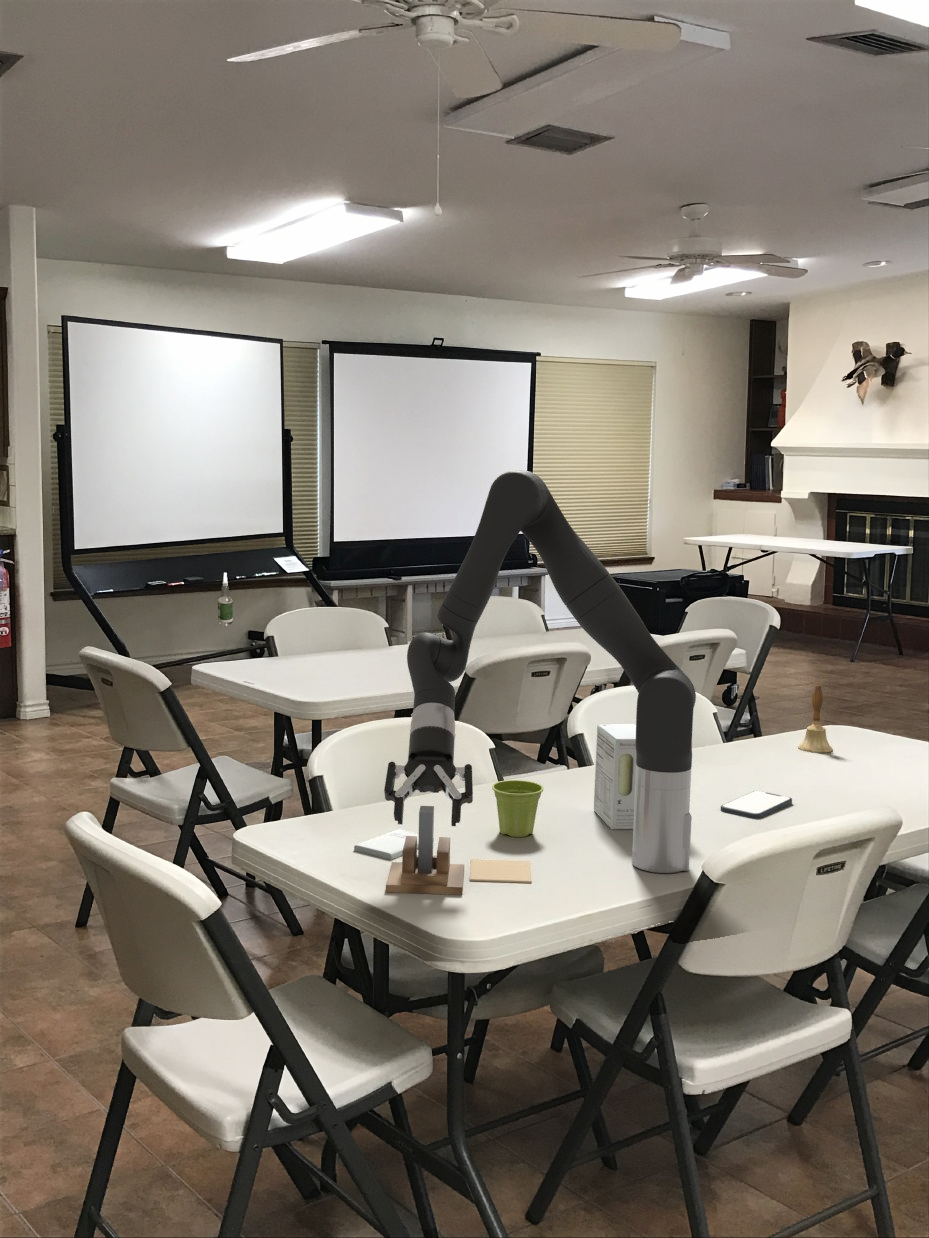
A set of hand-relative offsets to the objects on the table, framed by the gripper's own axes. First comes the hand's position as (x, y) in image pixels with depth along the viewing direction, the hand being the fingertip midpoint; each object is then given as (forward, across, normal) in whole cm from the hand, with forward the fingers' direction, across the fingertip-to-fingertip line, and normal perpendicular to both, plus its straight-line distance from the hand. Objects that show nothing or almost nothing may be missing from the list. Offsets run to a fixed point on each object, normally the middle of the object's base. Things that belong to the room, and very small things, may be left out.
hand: (426, 823), depth 189 cm
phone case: (-29, +64, +44) cm, 83 cm away
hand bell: (-68, +90, +82) cm, 140 cm away
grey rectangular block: (+5, 0, +8) cm, 9 cm away
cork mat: (+2, +12, +12) cm, 17 cm away
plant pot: (-14, +15, +28) cm, 35 cm away
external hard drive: (-6, -7, +21) cm, 23 cm away
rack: (+6, 0, +8) cm, 10 cm away
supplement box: (-21, +38, +36) cm, 56 cm away
